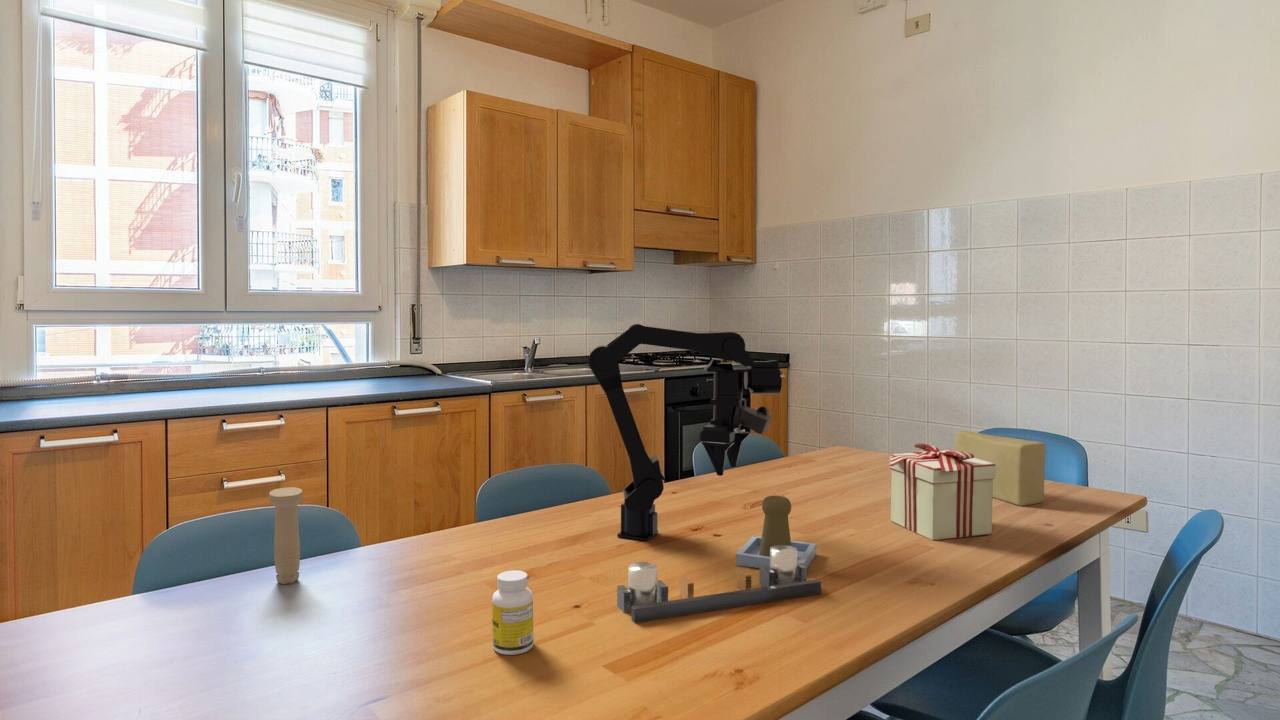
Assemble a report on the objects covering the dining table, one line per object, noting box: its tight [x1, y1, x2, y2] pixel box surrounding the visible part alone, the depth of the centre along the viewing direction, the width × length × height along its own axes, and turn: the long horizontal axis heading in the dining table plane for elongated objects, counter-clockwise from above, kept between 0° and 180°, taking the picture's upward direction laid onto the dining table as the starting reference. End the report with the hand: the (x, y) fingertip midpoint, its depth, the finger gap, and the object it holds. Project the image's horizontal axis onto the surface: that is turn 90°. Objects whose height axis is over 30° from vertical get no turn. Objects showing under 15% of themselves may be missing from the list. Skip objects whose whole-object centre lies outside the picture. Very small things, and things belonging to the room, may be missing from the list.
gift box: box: [888, 442, 996, 541], centre depth 155 cm, size 17×18×17 cm
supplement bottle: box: [491, 570, 534, 656], centre depth 99 cm, size 5×5×10 cm
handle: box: [269, 486, 303, 585], centre depth 122 cm, size 5×6×15 cm
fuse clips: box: [616, 545, 822, 624], centre depth 116 cm, size 8×32×6 cm, turn 112°
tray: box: [735, 535, 817, 569], centre depth 135 cm, size 12×12×2 cm
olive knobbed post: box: [759, 495, 792, 557], centre depth 135 cm, size 6×6×11 cm
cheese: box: [953, 430, 1047, 507], centre depth 186 cm, size 22×10×15 cm, turn 29°
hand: (726, 471), depth 150 cm, fingers open, 9 cm apart
